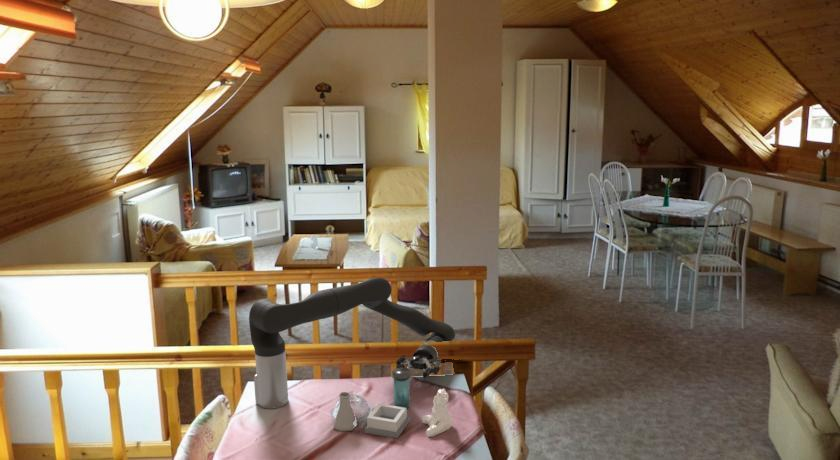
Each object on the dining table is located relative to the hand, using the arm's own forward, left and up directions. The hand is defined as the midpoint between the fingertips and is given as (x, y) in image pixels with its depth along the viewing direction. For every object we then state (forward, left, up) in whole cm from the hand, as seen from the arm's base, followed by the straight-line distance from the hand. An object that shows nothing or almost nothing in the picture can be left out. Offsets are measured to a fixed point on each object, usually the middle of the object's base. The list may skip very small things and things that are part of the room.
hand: (411, 373), depth 202 cm
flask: (-12, -24, -7) cm, 28 cm away
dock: (0, -21, -7) cm, 22 cm away
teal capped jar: (0, -9, -7) cm, 12 cm away
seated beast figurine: (+14, -17, -7) cm, 23 cm away
